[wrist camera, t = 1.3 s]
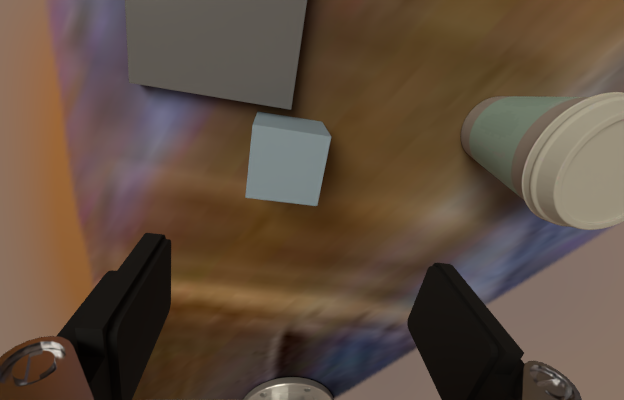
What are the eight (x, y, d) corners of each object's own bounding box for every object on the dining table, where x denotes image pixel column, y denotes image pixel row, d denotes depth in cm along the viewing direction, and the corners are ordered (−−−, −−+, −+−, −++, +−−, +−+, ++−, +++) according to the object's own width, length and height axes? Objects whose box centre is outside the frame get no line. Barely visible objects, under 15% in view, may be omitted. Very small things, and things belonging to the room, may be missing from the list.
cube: (310, 180, 30) (317, 206, 25) (251, 172, 29) (245, 197, 24) (321, 121, 27) (331, 136, 22) (257, 111, 27) (252, 124, 22)
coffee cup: (498, 185, 32) (613, 254, 21) (428, 153, 30) (515, 211, 19) (556, 103, 29) (724, 134, 18) (482, 62, 27) (623, 67, 16)
